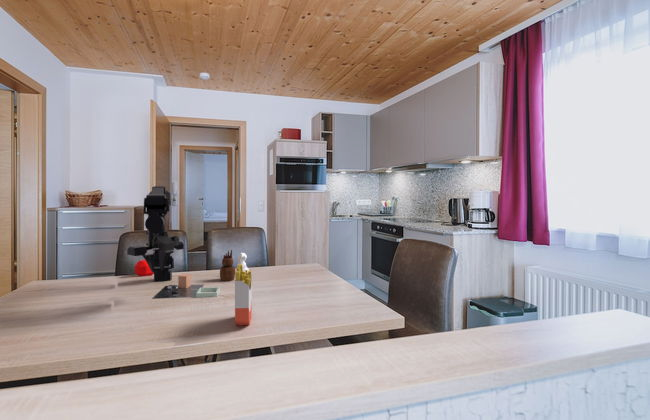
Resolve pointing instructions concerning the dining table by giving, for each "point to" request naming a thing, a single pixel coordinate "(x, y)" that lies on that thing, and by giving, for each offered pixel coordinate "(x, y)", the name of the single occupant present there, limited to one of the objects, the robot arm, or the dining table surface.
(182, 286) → the block
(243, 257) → the sitting furry creature
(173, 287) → the crank
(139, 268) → the red piece
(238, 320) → the french fries container
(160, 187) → the robot arm
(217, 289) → the tray
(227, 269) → the wooden figurine
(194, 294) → the base plate
